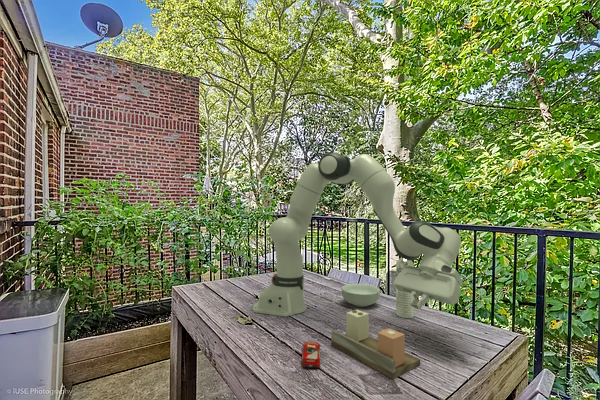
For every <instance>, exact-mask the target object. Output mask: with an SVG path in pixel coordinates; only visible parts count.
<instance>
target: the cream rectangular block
mask: <svg viewBox="0 0 600 400" xmlns="http://www.w3.org/2000/svg"><path fill="white" fill-rule="evenodd" d="M369 317H370V314H369V313H367V312H365V311H362V310H359V309H354V310H352V311H351V310H350V311H347V312H346V315H345V318H346V319H345V322H346V323H345V324H346V325H345V333H346V334H345V335H346V336H347V337H349V338H351V339H353V340H356V341H361V340H364V339H367V338H369V336H370V322H369V321H370V318H369Z"/></svg>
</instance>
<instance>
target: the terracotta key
mask: <svg viewBox="0 0 600 400" xmlns="http://www.w3.org/2000/svg"><path fill="white" fill-rule="evenodd" d="M377 340H378V352H380V353H382V354H384V355H386V356H388V357H390V358H392V359H394V360H395V367H397V366H399V365H401V364H403V363H405V353H406V341H405V340H406V334H405V333H403V332H399V331H397V330H395V329H392V328H386V329H383V330H381V331H378V332H377Z"/></svg>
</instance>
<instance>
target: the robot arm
mask: <svg viewBox="0 0 600 400" xmlns="http://www.w3.org/2000/svg"><path fill="white" fill-rule="evenodd" d="M353 182H355V183H356V184H357V185H358V186H359V187H360V188H361V190H362V191H363V193H364V194H365V196H366V197H367V198H368V200H369V202H370V204H371V206H372V208H373V210H374V212H375V214H376V216H377V218H378V219H379V221H380V223H381V224H382V226H383V227H384V229H385V231H386V233H387V234H388V235H389V238H390V239H391V242H392V245H393V248H394V250H395V252H396V254H397V255H398V256H399V257H400V258H401V257H402V258H403V259H406V260H411V261H414V260H415V261H416V260H418V259H419V258H420V257H421V256H422V255H423V257H422V259H421V261H420V263H419V265H418V267H416V266H414V267H412V266H408V267H405V268H403V269H402V271H401V272H400V273H399V274H398V276H397V277H395V279H394V280H393V284H394V286H395V289H396V288H397V289H398V290H400V291H404V292H407V293H411V296H412V300H411V302H410V305H411V306H412V307H414V309H419V310H421V309H422V307H423V305H425V304H427V303H428V302H430V300H433V301H437V302H440V303H444V304H446V305H452V306H453V305H456V304H457V303H458V301H459V299H460V296H461V293H462V289H461V286H463V279H462V278H461V275H460V273H459V272H458V271H457V269H456V268H454V267H453V266H452V265H453V263H454V262H455V261H456V259H457V257H458V255H459V252H460V249H461V245H462V239H461V236H460V234H459V233H458V232H457V231H455V230H453V229H452V228H449V227H438V226H435V225H432V224H431V223H429V222H428V221H426V220H425V221H424V220H416V221H414V222H413V221H412V223H411V224H410V225H409V226H408V227H406V228H405V226H404V225H403V223H402V222H401V220H400V219H399V217H398V216H397V214H396V212H395V210H394V198H395V194H396V193H395V192H396V185H395V182H394V180H393V178H392V175H390V174H389V172H388V171H387V170H386V169H385V168H384V167H383V165H382V164H380V162H378V161H377V160H376V158H374V157H373V156H371V155H370V154H368V153H362V154H359V155H357V156H356V157H354V158H353V159H350V158H349V156H346V155H343V154H341V153H336V152H328V153H325V154H323V155H322V156H321V157H320V159H319V161H318V163H317V162H313V163H312V162H311V163H310V164H308V165H307V167H305V170H304V171H303V172H302V174H301V175H300V177H299V179H298V182H297V184H296V186H295V188H294V190H293V192H292V194H291V196H290V199H289V208H288V212H287V215H286V216H285V217H283V216H282V217H279V218H277V219H276V220H274V221H273V222H272V223H271V224H270V226H269V228H268V233H269V238H271V240H272V241H273V245H274V246H273V247H274V250H275V255H276V273H274V274H273V275H272V277H271V284H269V286H267V287H266V288H265V289H264V290H263V291H262V292H261V293H260V294H259V297H258V301H257V302H255V304H254V305H253V306H252V312H253V313H258V314H264V315H272V316H277V317H290V316H292V315H297V314H301V313H304V312H306V311H307V306H306V301H305V294H304V288H305V276H304V274H303V271H304V269H303V266H304V265H303V263H304V260H303V254H302V253H301V250H300V249H301V248H300V241H302V240H303V239H304V238H305V237H306V235H308V233H309V227H310V224H311V220H312V216H313V214H314V211H315V209H316V207H317V204H318V202H319V200H320V198H321V196H322V194H323V192H324V189H325V188H326V186H328V184H330V183H331V184H333V185H334V184H335V185H341V186H345V185H346V186H347V185H350V184H352V183H353ZM419 297H421V298H420V299H419ZM417 299H419V300H417Z"/></svg>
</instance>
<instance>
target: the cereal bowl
mask: <svg viewBox="0 0 600 400" xmlns="http://www.w3.org/2000/svg"><path fill="white" fill-rule="evenodd" d="M380 294H381V289H379V287H378V286H375V285H371V284H366V283H348V284H345V285H343V286H342V287H341V295H342V297H343V299H344V300H345V301H346V302H347V303H349V304H351V305H352V306H355V307H359V308H366V307H369V306H370V305H373V304H375V303H377V302H378V301H379V298H380Z"/></svg>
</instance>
